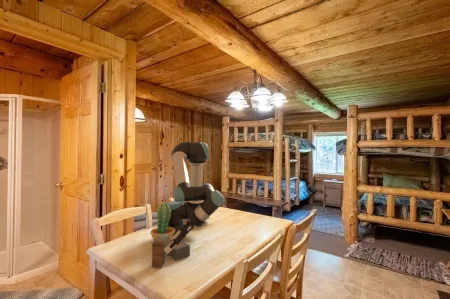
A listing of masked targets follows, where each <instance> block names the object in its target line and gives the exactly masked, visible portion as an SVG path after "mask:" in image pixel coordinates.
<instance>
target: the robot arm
mask: <svg viewBox="0 0 450 299" xmlns="http://www.w3.org/2000/svg"><path fill="white" fill-rule="evenodd" d="M170 157H171V158H170V159H171V161H172V163H173V169H174V177H175V178H174V179H175V185H176V186H175V187H174V188H173V200H172V201H169V202H167V204H168V205H169V207H170V208H171V217H170V219H169V222H168V227H172V228H174V229H175V233H174V234H173V237H172V238H171V240H170V244H169V245H168V246H167V247H166V248H165V249H164V251H165V252H166V253H167V254H168V253H169V252H170V251H171V250H172V249H173V248H174V247H175V246H176V245H178V244H179V243H180V242H181V241H183V240H184V238H185V237H186V236H187V235H188V234H189V233H190V232H191V231H193V229H194V227H197V228H200V227H201V226H202V225H203V224H204V223H205V222H206V221H207V220H208V219H210V218H211V216H212V215H213V214H214V213H215V212H216V211H217V210H218V209H219V208H220V207H221V206H222V205H223V203H225V202H226V198H225V196H224V195H223V194H222V193H221V192H220V191H219V190H217V189H215V188H214V187H213V185H212V184H210V183H208V182H205V183H203V178H204V177H203V176H204V165H205V164H206V162H207V160H209V159H210V158H209V157H210V151H209V146H208V144H207V142H203V141H181V142H179V143H177V144H176V145H175V146H174V147H173V149H172V151H171V152H170ZM187 160H188V163H189V165H190V169H189V170H190V173H189V170H188V165H187ZM189 174H190V175H189ZM209 216H210V217H209ZM207 218H208V219H207ZM188 219H190V220H189V221H187V220H188ZM206 219H207V220H206ZM184 220H185V221H186V223H185V224H184ZM205 220H206V221H205ZM167 254H166V255H167Z"/></svg>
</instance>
